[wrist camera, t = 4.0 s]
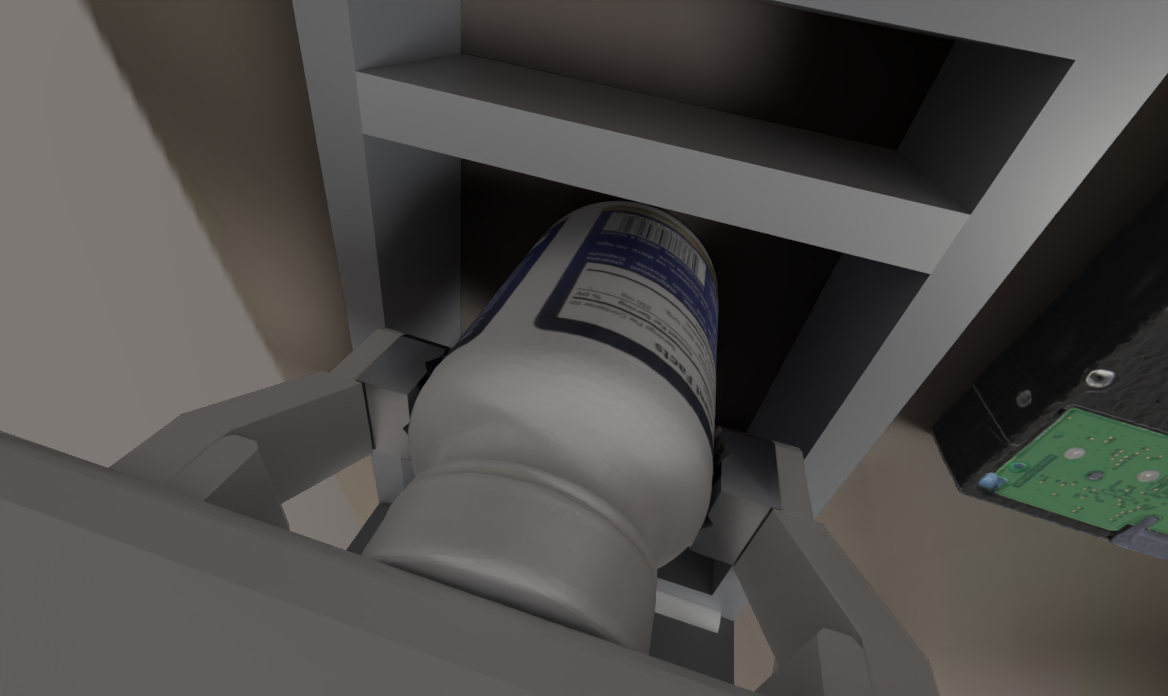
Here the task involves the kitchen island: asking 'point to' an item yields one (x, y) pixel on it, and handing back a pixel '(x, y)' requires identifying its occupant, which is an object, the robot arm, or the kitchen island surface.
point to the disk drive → (1080, 402)
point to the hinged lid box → (732, 203)
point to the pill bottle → (570, 429)
